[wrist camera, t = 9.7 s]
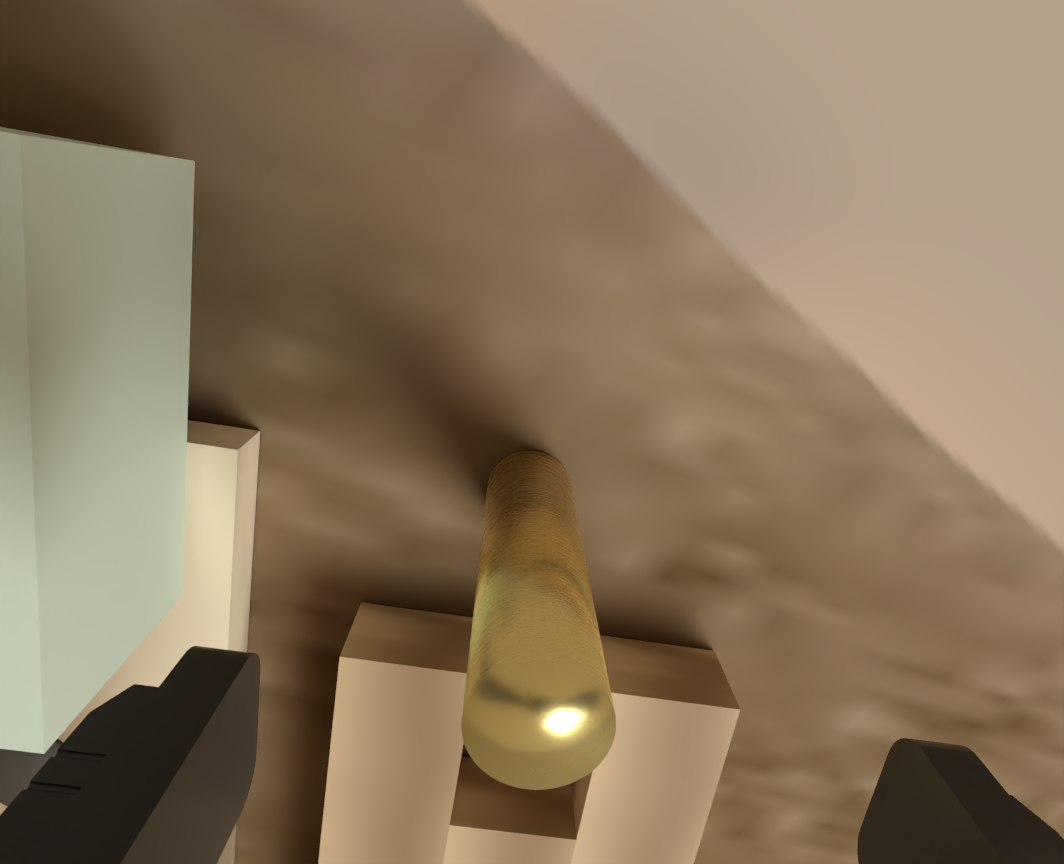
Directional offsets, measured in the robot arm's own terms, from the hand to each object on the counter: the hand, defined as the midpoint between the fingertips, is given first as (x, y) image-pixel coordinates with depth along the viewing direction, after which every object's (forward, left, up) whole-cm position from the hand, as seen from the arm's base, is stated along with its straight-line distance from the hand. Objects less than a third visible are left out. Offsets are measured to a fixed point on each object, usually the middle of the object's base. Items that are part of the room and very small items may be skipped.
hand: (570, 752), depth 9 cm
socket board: (+1, -11, -10) cm, 15 cm away
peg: (0, -1, -10) cm, 10 cm away
